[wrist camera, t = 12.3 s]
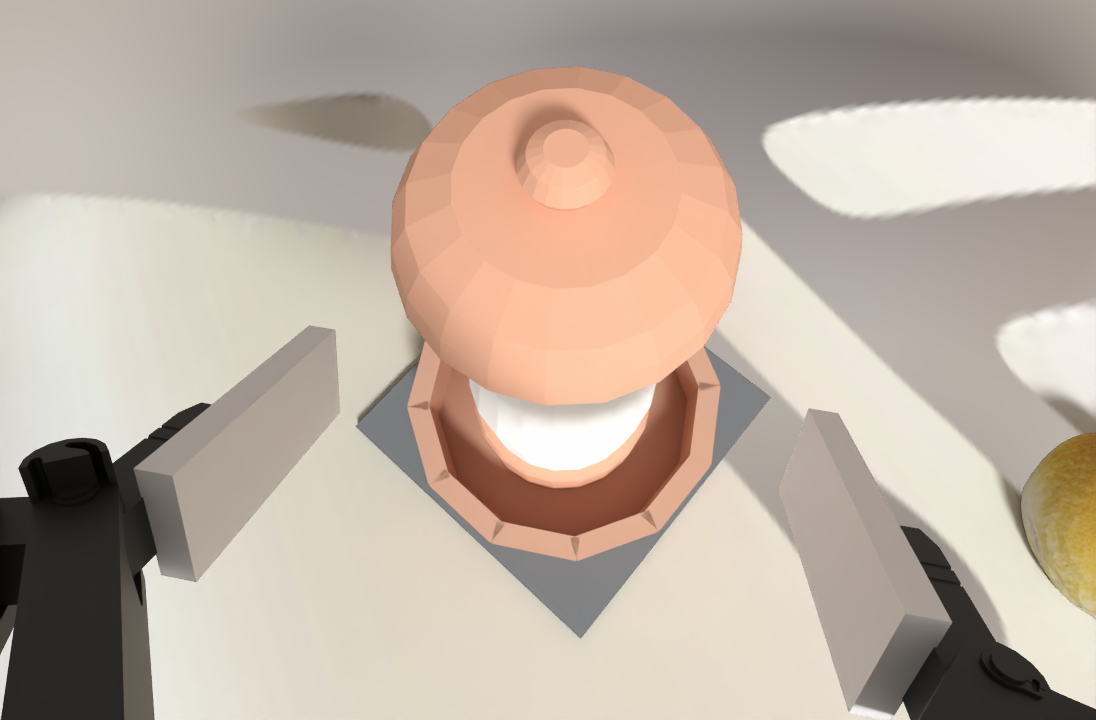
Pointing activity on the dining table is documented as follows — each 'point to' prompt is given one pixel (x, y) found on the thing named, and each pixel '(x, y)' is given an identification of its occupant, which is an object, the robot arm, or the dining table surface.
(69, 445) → the robot arm
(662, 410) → the dish
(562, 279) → the pepper shaker
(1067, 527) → the bread roll
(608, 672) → the dining table surface
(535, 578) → the mat
